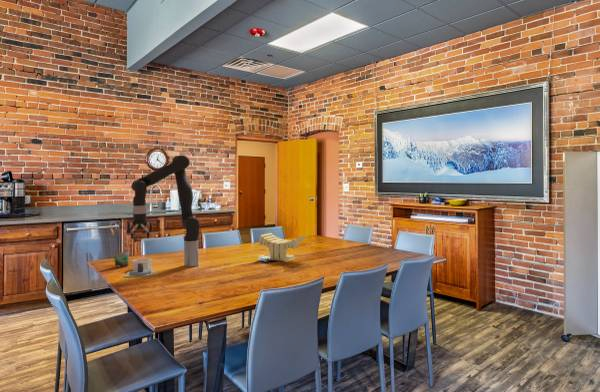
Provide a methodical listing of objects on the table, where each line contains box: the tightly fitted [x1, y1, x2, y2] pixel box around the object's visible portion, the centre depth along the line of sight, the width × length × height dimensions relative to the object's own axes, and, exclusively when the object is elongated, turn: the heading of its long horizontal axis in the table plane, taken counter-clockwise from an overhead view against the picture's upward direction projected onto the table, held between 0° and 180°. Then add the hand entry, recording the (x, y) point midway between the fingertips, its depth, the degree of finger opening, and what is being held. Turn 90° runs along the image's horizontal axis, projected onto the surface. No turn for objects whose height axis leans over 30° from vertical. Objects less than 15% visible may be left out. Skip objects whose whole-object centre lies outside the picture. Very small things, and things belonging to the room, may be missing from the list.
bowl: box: [132, 257, 152, 271], centre depth 241 cm, size 11×11×6 cm
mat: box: [124, 269, 156, 278], centre depth 228 cm, size 16×12×1 cm
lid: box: [129, 263, 152, 277], centre depth 228 cm, size 12×12×6 cm
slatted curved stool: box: [258, 232, 306, 263], centre depth 269 cm, size 30×16×18 cm, turn 61°
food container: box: [113, 249, 131, 269], centre depth 248 cm, size 12×6×10 cm, turn 168°
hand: (140, 238), depth 228 cm, fingers open, 8 cm apart
